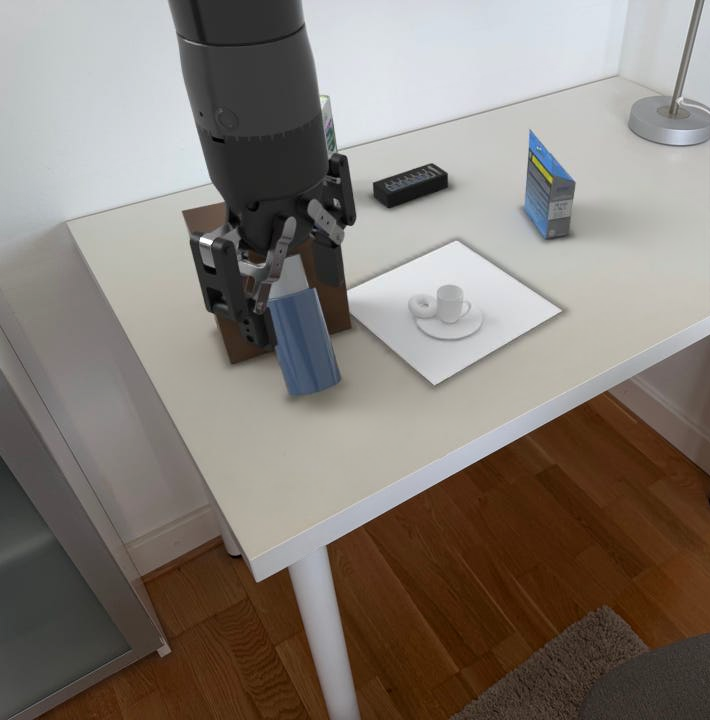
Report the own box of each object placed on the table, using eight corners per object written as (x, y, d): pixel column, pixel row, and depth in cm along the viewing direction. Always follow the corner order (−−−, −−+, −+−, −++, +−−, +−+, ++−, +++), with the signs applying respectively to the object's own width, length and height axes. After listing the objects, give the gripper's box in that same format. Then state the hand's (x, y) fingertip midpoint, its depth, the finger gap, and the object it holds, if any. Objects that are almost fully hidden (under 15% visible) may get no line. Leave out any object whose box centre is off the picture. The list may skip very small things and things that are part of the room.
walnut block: (230, 364, 75) (193, 240, 65) (218, 332, 79) (181, 210, 68) (351, 328, 80) (336, 208, 70) (335, 300, 84) (317, 181, 73)
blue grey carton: (570, 236, 96) (581, 153, 88) (544, 240, 95) (553, 157, 87) (546, 204, 102) (554, 124, 94) (522, 208, 101) (528, 127, 93)
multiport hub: (372, 196, 103) (371, 182, 101) (432, 175, 108) (432, 162, 106) (388, 208, 100) (387, 194, 99) (449, 187, 105) (449, 173, 104)
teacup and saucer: (398, 313, 83) (396, 286, 80) (449, 288, 87) (449, 261, 84) (444, 351, 78) (444, 323, 75) (496, 322, 82) (498, 295, 79)
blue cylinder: (297, 419, 70) (272, 310, 60) (268, 353, 77) (242, 246, 67) (350, 401, 72) (333, 293, 62) (317, 339, 79) (298, 233, 69)
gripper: (279, 56, 47) (312, 253, 58) (119, 137, 38) (195, 353, 49) (372, 76, 45) (389, 276, 56) (227, 167, 36) (281, 387, 47)
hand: (298, 312), depth 53 cm, fingers open, 8 cm apart
